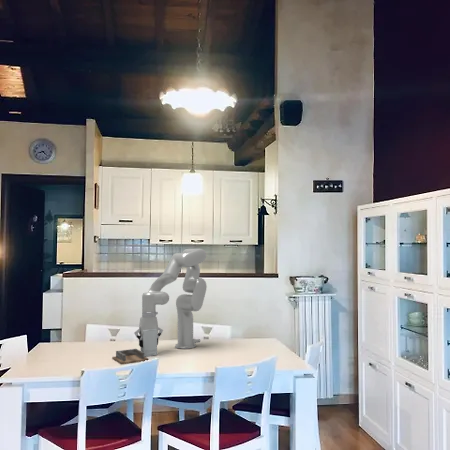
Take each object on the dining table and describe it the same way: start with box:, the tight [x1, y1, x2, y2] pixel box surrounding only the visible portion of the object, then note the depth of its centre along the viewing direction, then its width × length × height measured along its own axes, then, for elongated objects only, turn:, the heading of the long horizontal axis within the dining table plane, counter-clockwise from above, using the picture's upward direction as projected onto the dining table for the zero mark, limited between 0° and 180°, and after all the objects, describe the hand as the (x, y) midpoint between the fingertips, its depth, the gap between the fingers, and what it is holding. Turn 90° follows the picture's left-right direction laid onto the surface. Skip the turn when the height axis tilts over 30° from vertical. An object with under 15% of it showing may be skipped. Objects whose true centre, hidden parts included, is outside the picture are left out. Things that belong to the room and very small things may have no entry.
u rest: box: [111, 348, 150, 365], centre depth 245 cm, size 15×15×4 cm
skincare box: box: [139, 329, 158, 358], centre depth 256 cm, size 8×6×15 cm
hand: (148, 345), depth 255 cm, fingers closed on skincare box, 8 cm apart
